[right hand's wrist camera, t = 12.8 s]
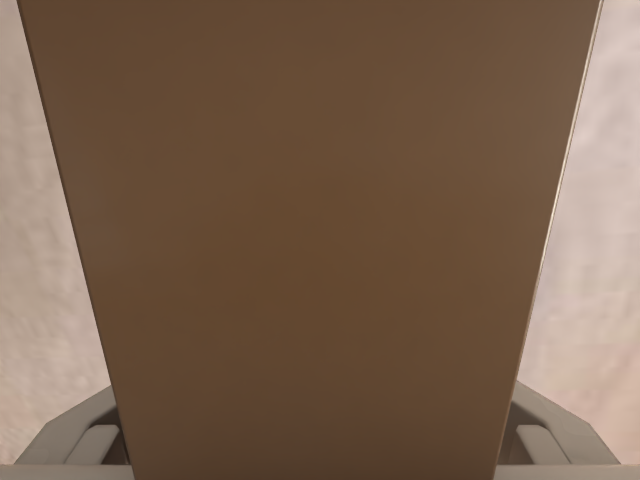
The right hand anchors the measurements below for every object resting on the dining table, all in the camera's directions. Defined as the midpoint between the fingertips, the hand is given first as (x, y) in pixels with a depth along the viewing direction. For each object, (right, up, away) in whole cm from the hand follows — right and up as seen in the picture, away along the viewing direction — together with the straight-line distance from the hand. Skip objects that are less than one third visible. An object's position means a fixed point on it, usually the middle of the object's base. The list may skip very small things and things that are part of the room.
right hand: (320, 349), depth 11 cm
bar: (0, +10, -1) cm, 10 cm away
